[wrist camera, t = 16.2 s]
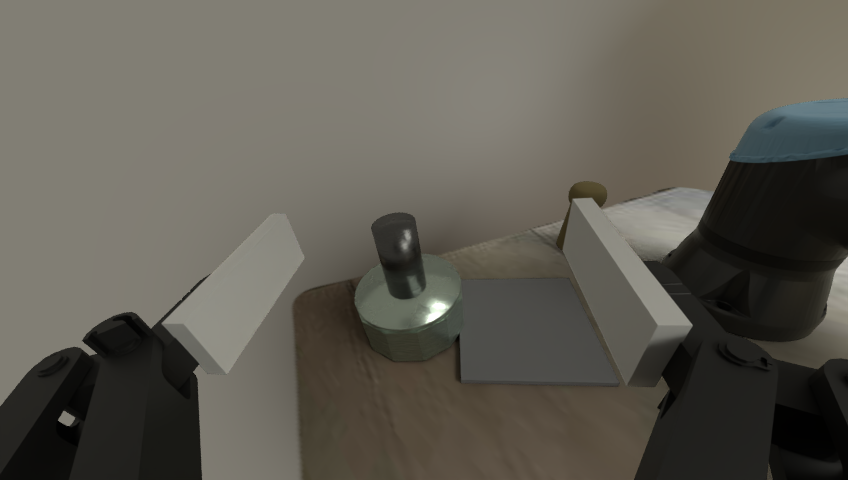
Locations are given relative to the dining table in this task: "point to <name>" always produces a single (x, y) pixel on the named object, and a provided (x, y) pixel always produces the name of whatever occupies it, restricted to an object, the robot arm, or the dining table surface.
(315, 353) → the dining table surface
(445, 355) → the dining table surface
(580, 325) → the mat
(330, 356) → the dining table surface
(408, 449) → the dining table surface
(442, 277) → the cover
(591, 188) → the cork
